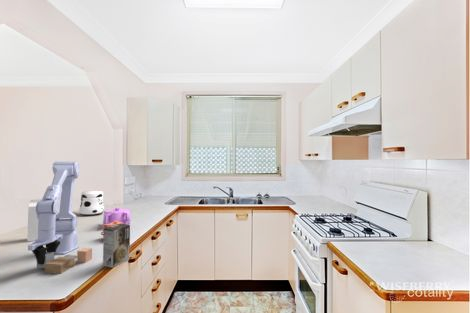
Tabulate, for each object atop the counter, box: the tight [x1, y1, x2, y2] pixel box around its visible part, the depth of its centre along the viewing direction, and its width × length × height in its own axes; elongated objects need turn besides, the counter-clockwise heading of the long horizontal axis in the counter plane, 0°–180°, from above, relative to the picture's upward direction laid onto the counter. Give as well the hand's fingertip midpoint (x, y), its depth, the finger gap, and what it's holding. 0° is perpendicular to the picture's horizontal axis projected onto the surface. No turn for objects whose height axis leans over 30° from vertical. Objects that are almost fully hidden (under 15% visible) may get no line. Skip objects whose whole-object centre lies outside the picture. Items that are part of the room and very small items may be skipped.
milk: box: [26, 199, 42, 242], centre depth 135 cm, size 6×6×22 cm
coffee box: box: [102, 223, 131, 269], centre depth 107 cm, size 9×6×16 cm
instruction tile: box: [63, 254, 77, 259], centre depth 110 cm, size 8×6×1 cm
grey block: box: [36, 251, 55, 269], centre depth 101 cm, size 4×4×5 cm
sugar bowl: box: [100, 221, 123, 238], centre depth 139 cm, size 12×14×10 cm
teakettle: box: [102, 206, 131, 228], centre depth 166 cm, size 17×17×12 cm
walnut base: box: [44, 256, 76, 274], centre depth 100 cm, size 7×7×4 cm
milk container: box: [79, 190, 105, 216], centre depth 197 cm, size 17×17×18 cm
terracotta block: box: [76, 247, 93, 264], centre depth 109 cm, size 4×4×5 cm
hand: (45, 261), depth 101 cm, fingers closed on grey block, 4 cm apart
